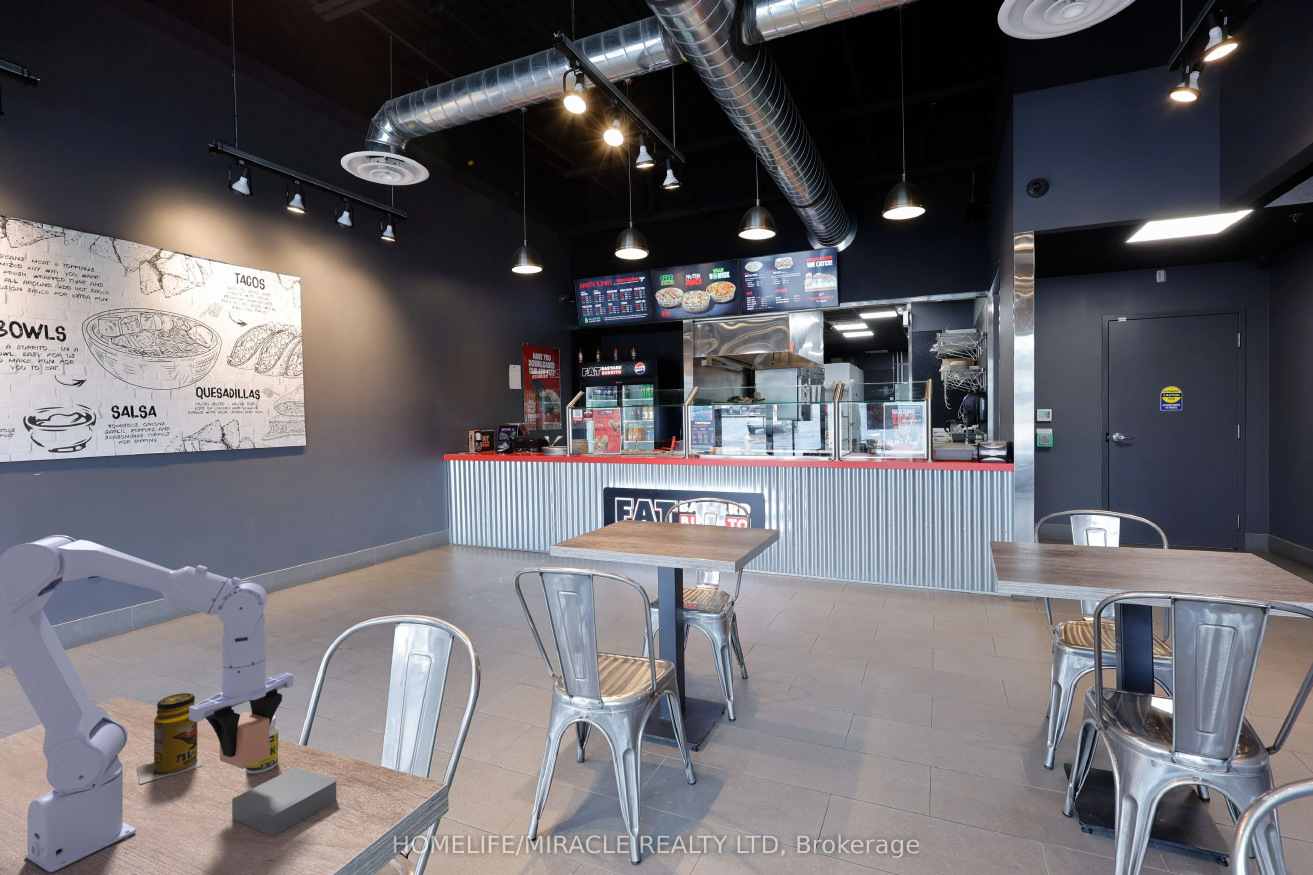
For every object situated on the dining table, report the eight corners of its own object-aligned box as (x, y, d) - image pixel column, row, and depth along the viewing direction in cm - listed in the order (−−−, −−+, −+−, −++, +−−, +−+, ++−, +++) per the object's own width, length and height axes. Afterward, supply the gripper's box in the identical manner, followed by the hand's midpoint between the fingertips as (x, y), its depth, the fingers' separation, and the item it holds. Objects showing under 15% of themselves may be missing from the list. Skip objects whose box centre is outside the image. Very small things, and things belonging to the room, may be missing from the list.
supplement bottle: (262, 775, 103) (262, 726, 103) (239, 773, 104) (238, 724, 104) (284, 761, 108) (284, 714, 108) (262, 758, 109) (262, 712, 109)
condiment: (202, 766, 107) (202, 698, 107) (139, 785, 101) (139, 713, 101) (196, 751, 112) (196, 686, 112) (136, 768, 106) (136, 700, 106)
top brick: (242, 768, 92) (242, 729, 92) (219, 760, 94) (219, 721, 94) (269, 756, 95) (269, 718, 95) (246, 748, 98) (246, 711, 98)
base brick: (273, 836, 87) (272, 815, 87) (232, 818, 92) (232, 798, 92) (336, 799, 96) (336, 780, 96) (296, 784, 100) (296, 766, 101)
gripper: (208, 682, 87) (208, 777, 87) (304, 650, 100) (305, 732, 100) (180, 674, 90) (181, 766, 90) (278, 644, 103) (278, 724, 103)
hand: (244, 748), depth 95 cm, fingers closed on top brick, 4 cm apart
